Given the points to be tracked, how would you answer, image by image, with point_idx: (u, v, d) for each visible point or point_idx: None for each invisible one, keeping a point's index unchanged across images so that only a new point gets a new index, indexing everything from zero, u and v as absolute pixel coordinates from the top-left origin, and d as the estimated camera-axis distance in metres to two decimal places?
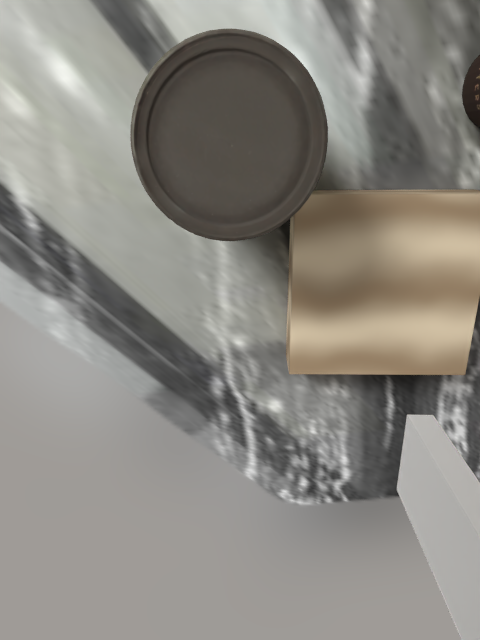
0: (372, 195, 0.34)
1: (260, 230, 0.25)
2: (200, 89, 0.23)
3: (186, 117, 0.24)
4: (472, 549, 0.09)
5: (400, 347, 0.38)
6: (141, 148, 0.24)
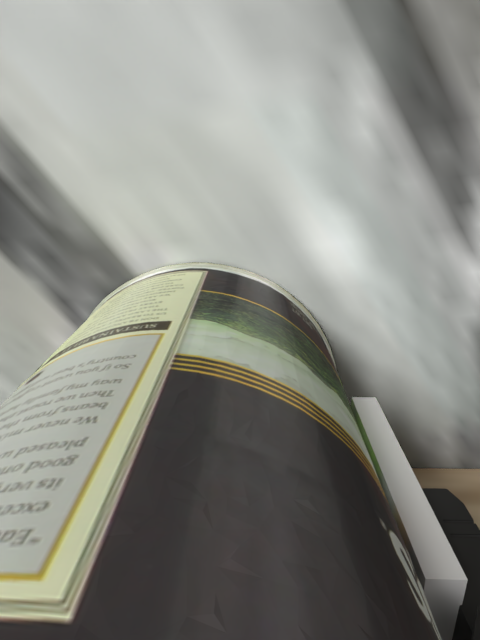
0: None
1: None
2: None
3: None
4: None
5: None
6: None
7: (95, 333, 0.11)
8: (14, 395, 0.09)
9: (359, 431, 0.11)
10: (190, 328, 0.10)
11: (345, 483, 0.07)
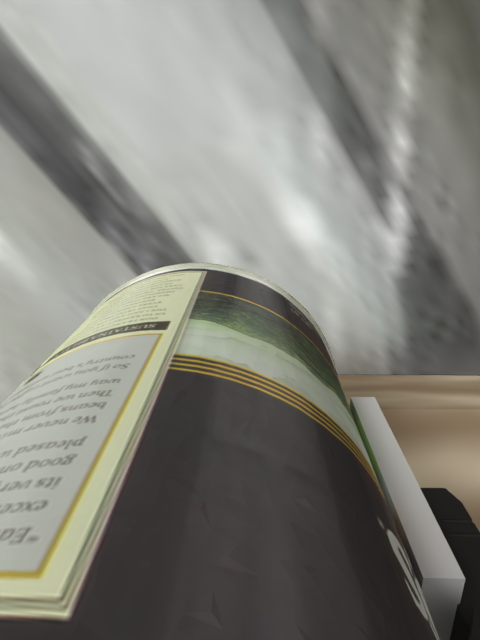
0: (411, 410, 0.24)
1: None
2: None
3: None
4: None
5: None
6: None
7: (94, 333, 0.11)
8: (13, 395, 0.09)
9: (357, 431, 0.11)
10: (189, 328, 0.10)
11: (342, 482, 0.07)
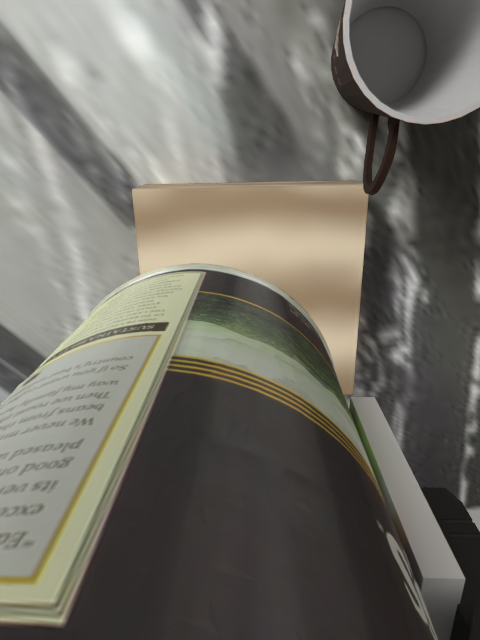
0: (221, 189, 0.29)
1: None
2: None
3: None
4: None
5: None
6: None
7: (92, 334, 0.11)
8: (11, 397, 0.09)
9: (357, 432, 0.11)
10: (187, 330, 0.10)
11: (342, 485, 0.07)
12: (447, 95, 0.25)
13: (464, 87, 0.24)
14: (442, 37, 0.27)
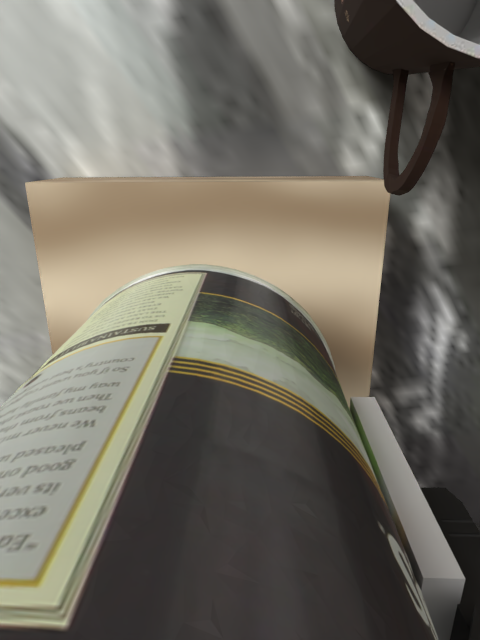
0: (163, 184, 0.19)
1: None
2: None
3: None
4: None
5: None
6: None
7: (94, 336, 0.11)
8: (12, 398, 0.09)
9: (358, 433, 0.11)
10: (189, 331, 0.10)
11: (343, 486, 0.07)
12: None
13: None
14: None
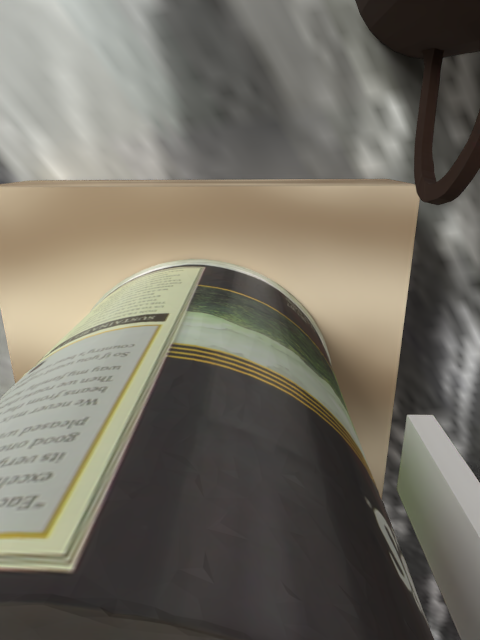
0: (144, 189, 0.15)
1: None
2: None
3: None
4: (472, 549, 0.09)
5: None
6: None
7: (95, 325, 0.11)
8: (18, 383, 0.10)
9: (350, 420, 0.11)
10: (187, 320, 0.10)
11: (332, 463, 0.07)
12: None
13: None
14: None
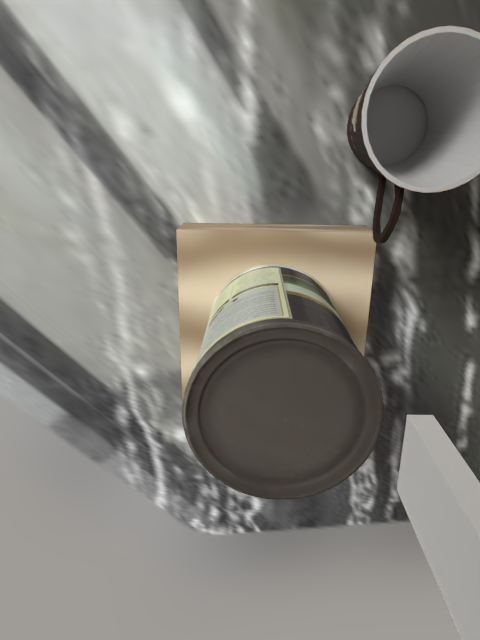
0: (252, 232, 0.34)
1: (310, 492, 0.25)
2: (255, 371, 0.23)
3: (240, 394, 0.23)
4: (472, 549, 0.09)
5: None
6: (192, 420, 0.24)
7: (249, 287, 0.30)
8: (231, 304, 0.28)
9: None
10: (286, 285, 0.29)
11: (338, 322, 0.26)
12: (444, 164, 0.30)
13: (457, 161, 0.29)
14: (441, 114, 0.33)
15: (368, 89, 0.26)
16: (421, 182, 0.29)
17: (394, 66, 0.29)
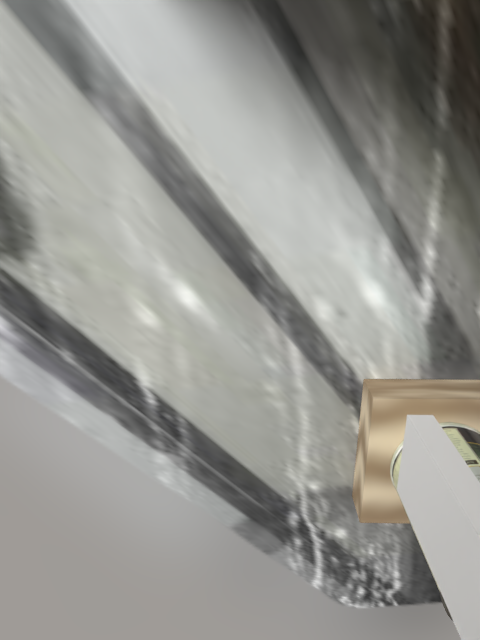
0: (434, 400, 0.43)
1: None
2: None
3: None
4: (472, 549, 0.09)
5: None
6: None
7: None
8: None
9: None
10: None
11: None
12: None
13: None
14: None
15: None
16: None
17: None
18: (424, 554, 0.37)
